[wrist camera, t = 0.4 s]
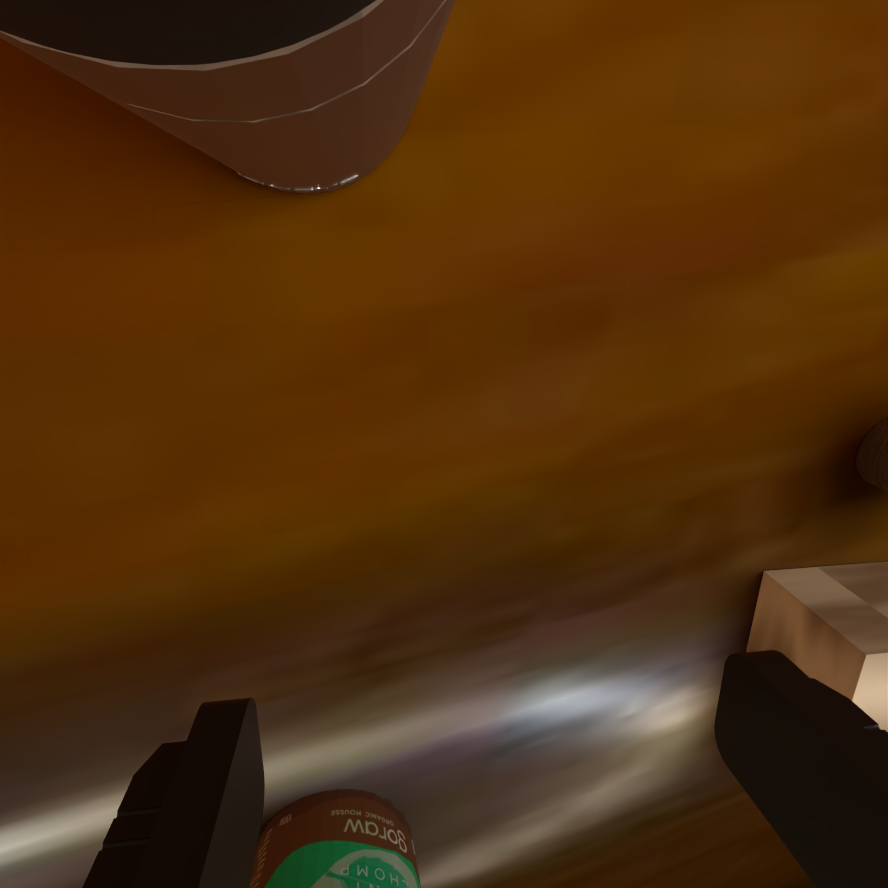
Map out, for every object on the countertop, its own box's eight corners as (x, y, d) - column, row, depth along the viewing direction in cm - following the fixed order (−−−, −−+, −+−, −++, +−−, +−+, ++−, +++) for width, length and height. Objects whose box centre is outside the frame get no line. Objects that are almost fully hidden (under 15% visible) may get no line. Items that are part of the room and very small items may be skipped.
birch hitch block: (763, 571, 32) (866, 654, 26) (948, 556, 34) (1089, 632, 27) (727, 732, 36) (808, 841, 30) (894, 713, 38) (1005, 812, 31)
